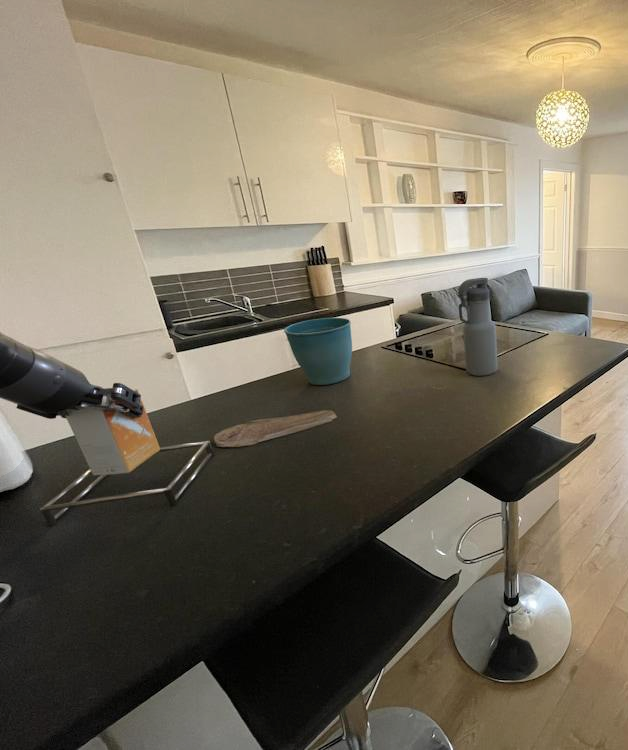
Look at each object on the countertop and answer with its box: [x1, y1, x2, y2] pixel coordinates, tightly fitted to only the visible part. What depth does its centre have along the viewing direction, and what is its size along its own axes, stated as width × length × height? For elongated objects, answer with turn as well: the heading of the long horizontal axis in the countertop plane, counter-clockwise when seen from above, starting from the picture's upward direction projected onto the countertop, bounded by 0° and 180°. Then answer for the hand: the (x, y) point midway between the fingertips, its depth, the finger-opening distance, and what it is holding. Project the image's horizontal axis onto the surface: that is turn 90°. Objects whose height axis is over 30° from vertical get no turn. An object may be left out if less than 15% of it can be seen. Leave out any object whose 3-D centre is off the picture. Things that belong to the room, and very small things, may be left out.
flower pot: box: [283, 317, 353, 386], centre depth 122 cm, size 18×18×17 cm
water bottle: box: [457, 277, 499, 377], centre depth 121 cm, size 10×10×28 cm
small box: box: [65, 388, 160, 476], centre depth 73 cm, size 8×6×13 cm
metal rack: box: [39, 440, 215, 527], centre depth 77 cm, size 19×17×4 cm
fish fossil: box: [213, 409, 338, 448], centre depth 97 cm, size 26×10×1 cm, turn 123°
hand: (115, 415), depth 73 cm, fingers closed on small box, 7 cm apart
